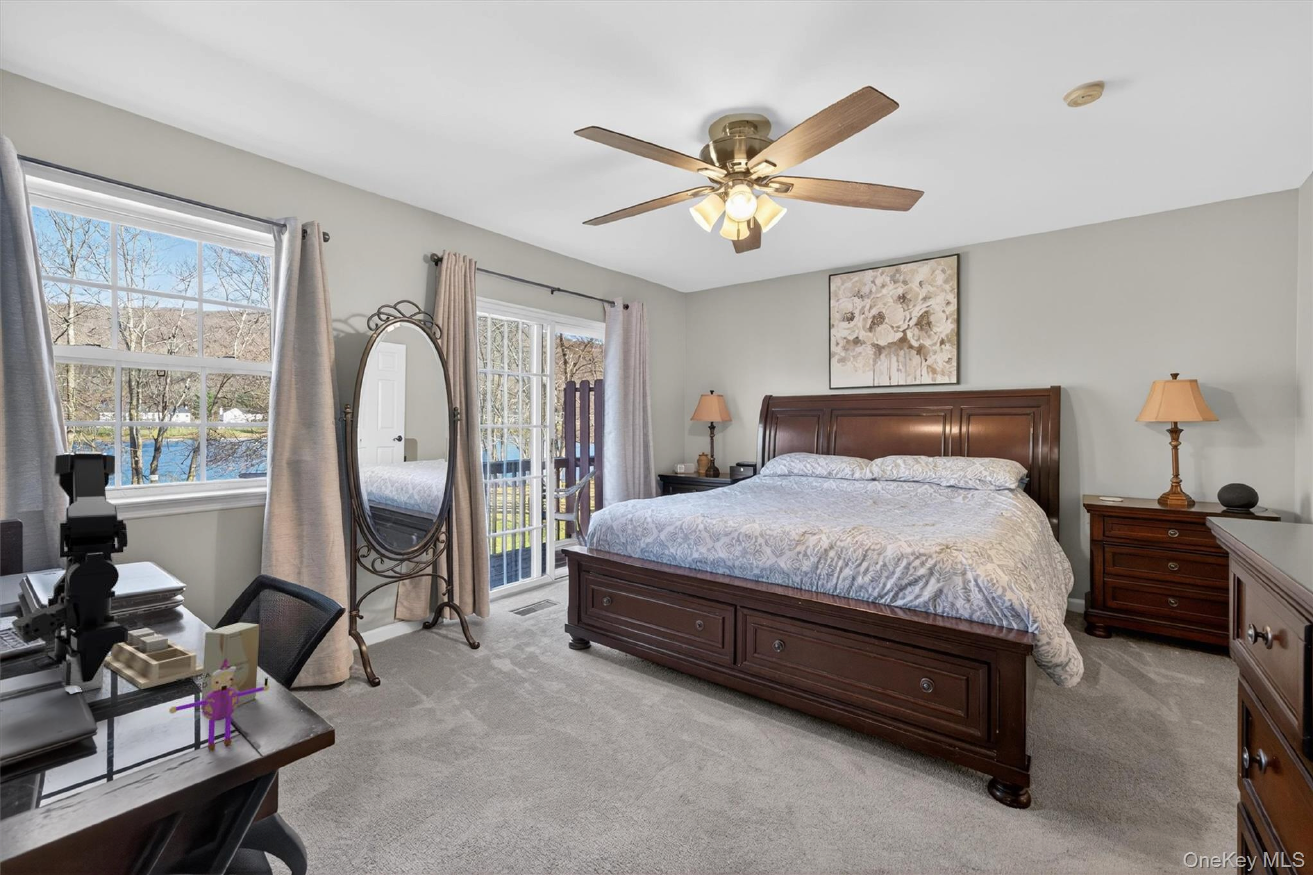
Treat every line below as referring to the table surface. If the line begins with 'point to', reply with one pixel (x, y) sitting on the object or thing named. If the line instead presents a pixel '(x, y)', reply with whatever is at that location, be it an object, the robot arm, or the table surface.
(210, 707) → the wizard figurine
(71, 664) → the grey rounded square block
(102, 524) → the robot arm
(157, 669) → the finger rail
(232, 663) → the skincare box
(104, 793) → the table surface
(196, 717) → the table surface
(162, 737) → the table surface
